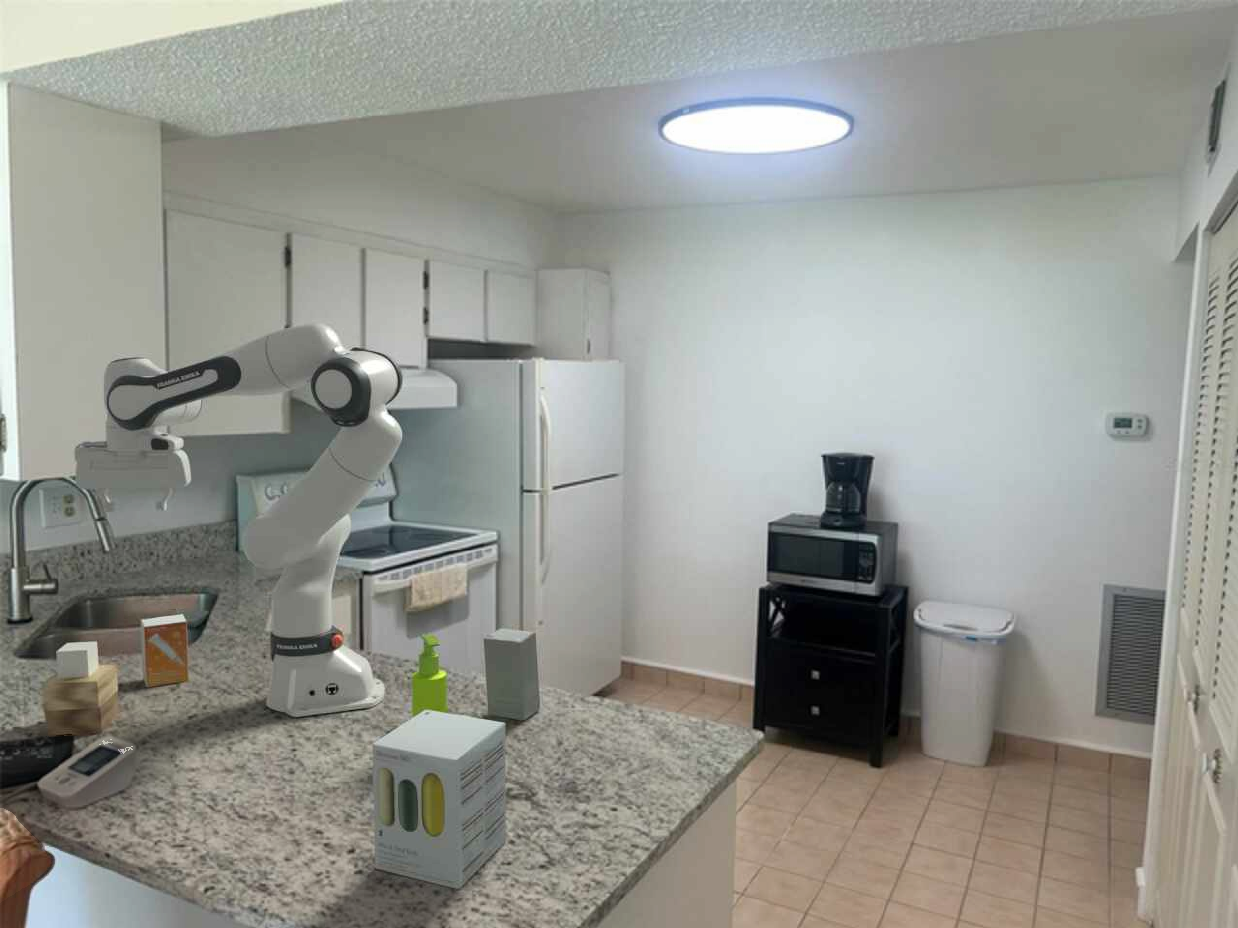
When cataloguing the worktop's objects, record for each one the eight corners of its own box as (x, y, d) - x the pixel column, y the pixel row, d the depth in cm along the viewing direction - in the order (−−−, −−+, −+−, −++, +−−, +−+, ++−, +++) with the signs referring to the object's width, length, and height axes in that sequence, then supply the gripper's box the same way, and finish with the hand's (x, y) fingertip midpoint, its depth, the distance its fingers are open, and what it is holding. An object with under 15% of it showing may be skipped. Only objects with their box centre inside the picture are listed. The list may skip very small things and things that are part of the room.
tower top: (118, 689, 169) (116, 664, 168) (98, 708, 160) (97, 681, 160) (66, 692, 167) (64, 666, 167) (43, 710, 159) (42, 683, 158)
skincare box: (540, 710, 173) (540, 630, 171) (521, 723, 167) (521, 641, 165) (503, 703, 177) (502, 625, 175) (483, 716, 170) (482, 635, 168)
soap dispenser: (419, 758, 152) (417, 644, 149) (409, 743, 158) (407, 632, 156) (453, 751, 154) (451, 639, 152) (441, 736, 161) (440, 628, 158)
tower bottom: (119, 714, 170) (117, 689, 169) (101, 733, 161) (100, 707, 161) (66, 717, 168) (65, 692, 168) (46, 737, 159) (44, 710, 159)
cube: (98, 667, 167) (97, 641, 166) (88, 676, 162) (87, 649, 161) (68, 669, 166) (67, 642, 165) (58, 678, 161) (56, 651, 160)
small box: (146, 688, 183) (143, 626, 181) (143, 679, 188) (139, 618, 187) (189, 681, 187) (187, 620, 186) (185, 672, 193) (182, 613, 191)
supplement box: (371, 869, 119) (368, 743, 117) (427, 822, 131) (425, 707, 129) (459, 891, 114) (457, 760, 112) (508, 840, 126) (507, 721, 124)
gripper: (67, 443, 170) (71, 514, 172) (182, 442, 174) (186, 512, 176) (80, 440, 177) (84, 509, 178) (191, 439, 180) (194, 507, 182)
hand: (135, 510), depth 177 cm, fingers open, 8 cm apart
